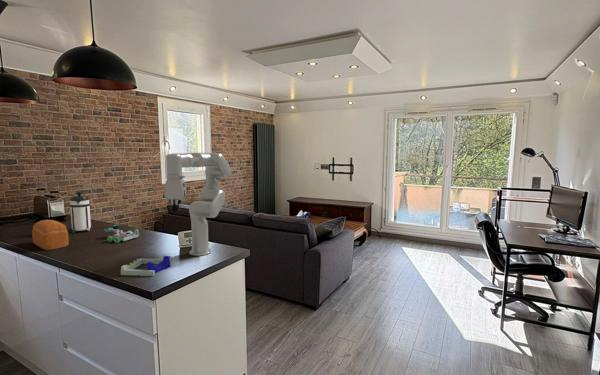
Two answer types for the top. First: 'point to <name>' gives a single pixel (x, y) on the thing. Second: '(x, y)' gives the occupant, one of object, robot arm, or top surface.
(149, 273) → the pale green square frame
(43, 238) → the bread
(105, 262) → the top surface
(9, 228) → the top surface
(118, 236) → the robot kit
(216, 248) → the top surface
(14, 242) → the top surface
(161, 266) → the cable clip
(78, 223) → the coffee press
